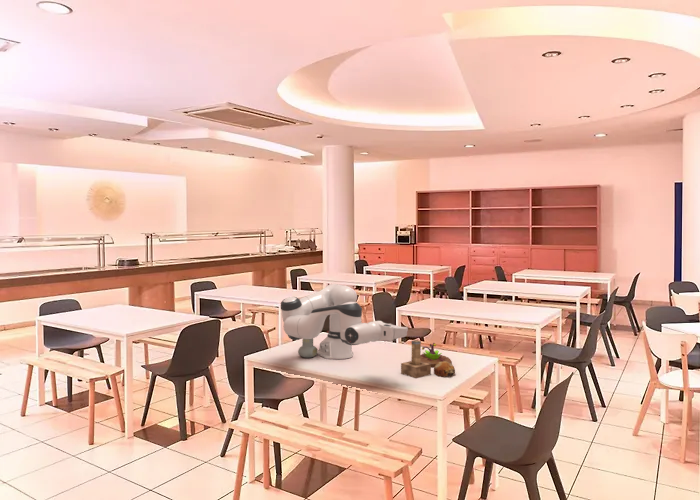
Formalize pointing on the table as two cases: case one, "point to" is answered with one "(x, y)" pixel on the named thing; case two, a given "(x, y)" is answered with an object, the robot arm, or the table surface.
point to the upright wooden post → (416, 352)
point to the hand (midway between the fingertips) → (399, 327)
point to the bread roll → (444, 369)
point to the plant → (433, 356)
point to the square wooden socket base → (416, 369)
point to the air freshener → (307, 349)
